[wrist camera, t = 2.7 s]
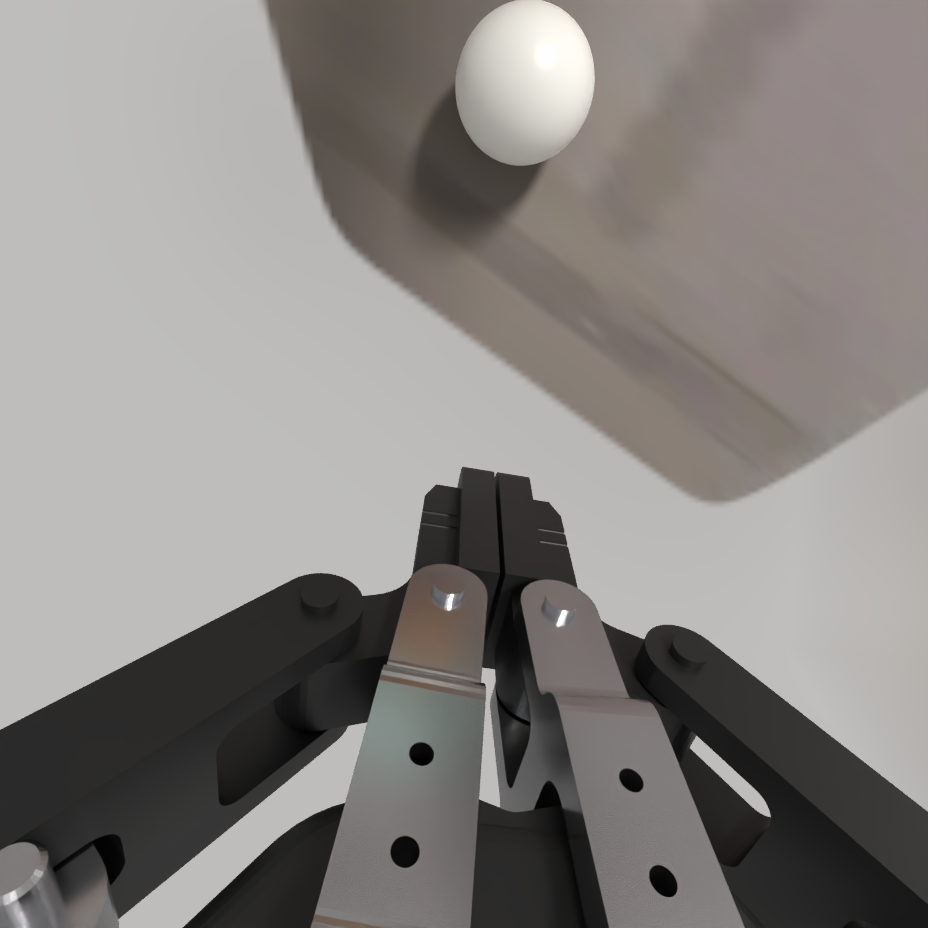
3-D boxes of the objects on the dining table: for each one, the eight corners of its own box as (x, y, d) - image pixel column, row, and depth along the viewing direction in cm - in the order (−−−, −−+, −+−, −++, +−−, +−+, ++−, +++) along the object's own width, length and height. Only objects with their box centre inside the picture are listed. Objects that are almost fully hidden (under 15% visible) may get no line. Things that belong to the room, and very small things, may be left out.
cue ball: (469, 2, 23) (467, -37, 19) (597, 30, 24) (628, -1, 19) (447, 151, 26) (441, 151, 21) (563, 175, 26) (583, 179, 22)
